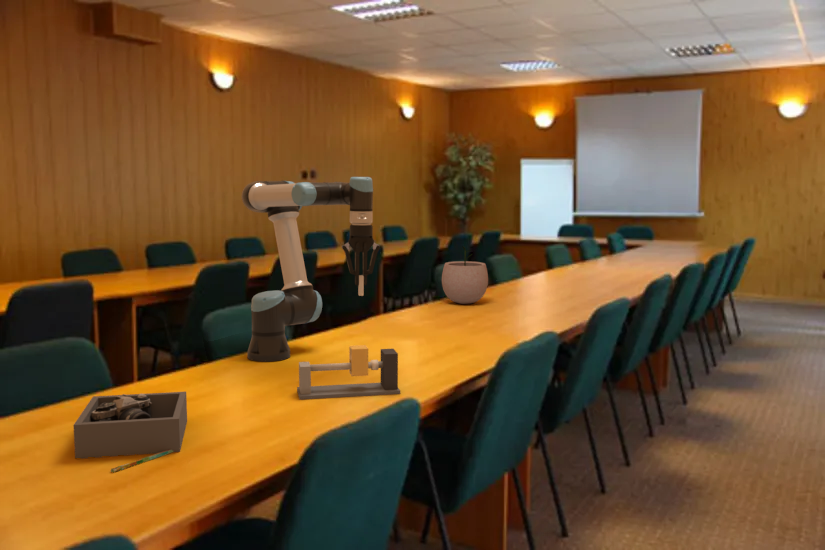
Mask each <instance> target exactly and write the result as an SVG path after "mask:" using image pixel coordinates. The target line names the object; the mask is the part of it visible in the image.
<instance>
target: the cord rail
mask: <svg viewBox="0 0 825 550" xmlns="http://www.w3.org/2000/svg"><path fill="white" fill-rule="evenodd" d="M349 369H351V363H349V362H342V363H341V362H339V363H336V362H335V363H319V364H318V363H317V364H311V363H310V361H299V362H298V380H299V381H298V386H297V387H296V390H297V395H298V400H319V399H334V398H336V399H337V398H351V397H368V396H370V397H371V396H385V395H386V396H388V395H389V396H390V395H401V390H400V388H399V384H398V383H399V382H398V381H399V376H398V375H399V353H398V352H397V350H395V349H394V348H380V361H379V360H378V359H370V361H368V370H371V371H378V370H379V369H380V382H366V383H350V384H349V383H348V384H347V383H346V384H331V385H330V384H329V385H312V376H311V375H312V372H323V371H324V372H327V371H328V372H329V371H345V370H347V371H348V370H349Z"/></svg>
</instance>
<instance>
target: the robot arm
mask: <svg viewBox="0 0 825 550" xmlns="http://www.w3.org/2000/svg"><path fill="white" fill-rule="evenodd" d="M373 195H374V186H373V179H372V177H370V176H351V177H350V178H349V181H348V182H343V181H334V182H333V181H331V182H329V181H327V182H325V181H324V182H320V181H319V182H314V181H313V182H311V181H310V182H309V181H302V182H295V181H289V180H288V181H287V180H256V181H251V182H250V183H248V184H246V185H245V186H244V188H243V190H242V192H241V200H242V203H243V205H244V207H246V208H247V209H248V210H249V211H252V212H254V213H266V215H267V219H268V221H270V222H272V223H273V229H274V234H275V240H276V245H277V251H278V257H279V263H280V267H281V268H280V269H281V273H282V279H283V284H284V285H283V287H282V288H281V290H280V289H279V290H278V289H277V290H267V291H262V292H258V293H256V294H255V295H253V297H252V298H251V303H250V304H251V306H250V310H251V339H250V343H249V345H248V349H247V356H246V357H247V359H248V360H250V361H255V362H277V361H282V360H287V359H289V358H290V357H291V349H290V346H289V343H288V339H287V337H286V334H285V333H286V327H288V326H295V325H301V324H308V323H313V322H315V321H317V320H318V319H319V317H320V315H321V314H322V310H323V309H322V308H323V299H322V296H321V294H320V292H318V291H317V290H314V286H313V284H312V283H311V282H309V281H308V278H307V269H306V266H305V261H304V260H305V259H304V255H303V248H302V243H301V238H300V233H299V226H298V222H297V218H298V217H299V215H300V211H301V210H302V208H303V207H312V206H313V207H314V206H349V223H350V224H349V238H348V240H347V242H346V243H345V244H342V245H341V248H342V250H343V252H344V255H345V259H346V262H347V266H348V271H349V273H350V275H352V276H353V275H354V284H355V286H357V288H358V290H357V291H358V292H357V294H358V295H357V296H359V297H360V296H361V297H363V296H364V294H365V293H364V291H365V290H364V289H365V288H364V286H367V284H368V276H369V275H372V274H373V271H374V268H375V264H376V260H377V256H378V253H379V251H380V249H381V245H379V244H377V243H376V242H375V240H374V236H373V230H374V229H373V227H374V226H373V222H374V221H373V220H374V219H373V212H374V211H373V210H374V209H373V208H374V204H373V202H374V199H373V197H374V196H373ZM350 248H351V249H352V250H353V251H354V267H353V263H352V262H353V261H352V259H351V254H350V251H349V250H350ZM371 248H372V249H373V250H372V253H371V256H370V261H369V265H368V253H369V251H370V249H371ZM360 253H362V274H360Z"/></svg>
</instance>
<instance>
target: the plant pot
mask: <svg viewBox="0 0 825 550" xmlns="http://www.w3.org/2000/svg"><path fill="white" fill-rule="evenodd" d="M462 248H463V250H464V261H448V262H445V263H444V265H443V269H442V274H441V287H442V290H443V292H444V294H445V296H446V297H447V298H448V299H449V300H450V301H452V302H453V303H456V304H462V305H471V304H474V303H476V302H478V301H480V300H481V299H482V298H483V297H484V295H485V294H486V292H487V289H488V286H489V274H488V268H487V265H486V263H485V262H480V261H468V259H469V257H471V256H472V255H473V253H471V254H469V255H468V256H467V252H468V253H469V252H470V251H472V250H471V249H469V250H468V249H466V247H465V246H464V245H462Z"/></svg>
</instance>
